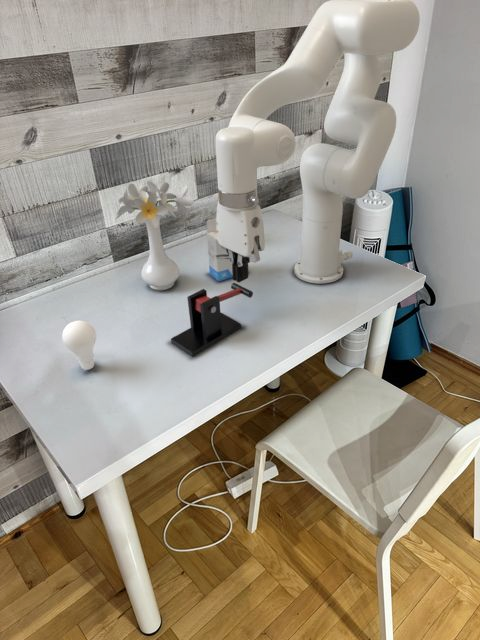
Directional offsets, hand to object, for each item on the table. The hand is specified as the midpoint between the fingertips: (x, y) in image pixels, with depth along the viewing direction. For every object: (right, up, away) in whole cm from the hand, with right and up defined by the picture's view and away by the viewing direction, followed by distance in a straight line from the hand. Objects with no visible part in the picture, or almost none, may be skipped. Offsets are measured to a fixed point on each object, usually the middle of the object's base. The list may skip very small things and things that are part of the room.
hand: (240, 279), depth 110 cm
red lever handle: (-4, -5, -1) cm, 7 cm away
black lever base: (-7, -12, 0) cm, 14 cm away
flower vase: (-20, +1, +18) cm, 27 cm away
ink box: (-4, +4, +21) cm, 22 cm away
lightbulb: (-30, -19, -8) cm, 37 cm away
